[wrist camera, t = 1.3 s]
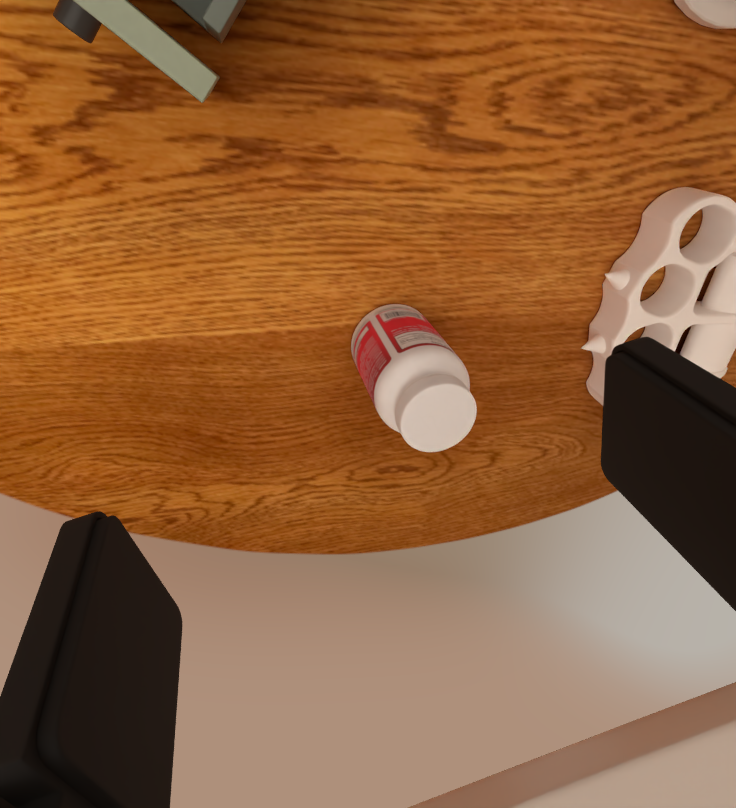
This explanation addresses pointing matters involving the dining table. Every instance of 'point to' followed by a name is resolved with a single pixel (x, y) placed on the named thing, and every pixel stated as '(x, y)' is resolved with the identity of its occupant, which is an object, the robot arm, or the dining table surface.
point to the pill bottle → (413, 378)
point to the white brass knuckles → (673, 285)
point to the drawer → (155, 34)
